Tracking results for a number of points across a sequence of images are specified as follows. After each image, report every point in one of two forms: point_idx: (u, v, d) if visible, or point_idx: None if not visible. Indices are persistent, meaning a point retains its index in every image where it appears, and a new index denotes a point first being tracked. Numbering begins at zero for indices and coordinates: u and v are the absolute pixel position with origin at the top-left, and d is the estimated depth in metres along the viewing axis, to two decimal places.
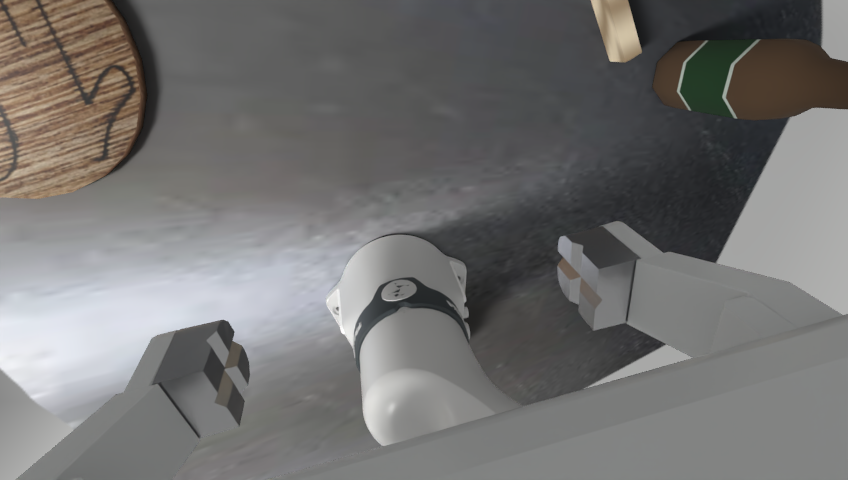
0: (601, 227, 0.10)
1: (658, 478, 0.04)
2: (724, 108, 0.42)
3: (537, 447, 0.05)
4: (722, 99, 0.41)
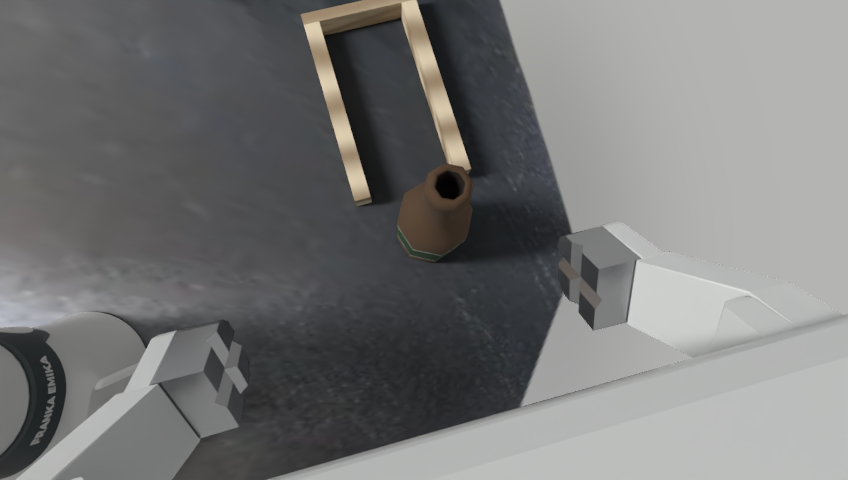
0: (600, 227, 0.10)
1: (658, 478, 0.04)
2: (405, 239, 0.43)
3: (536, 445, 0.05)
4: (398, 228, 0.43)
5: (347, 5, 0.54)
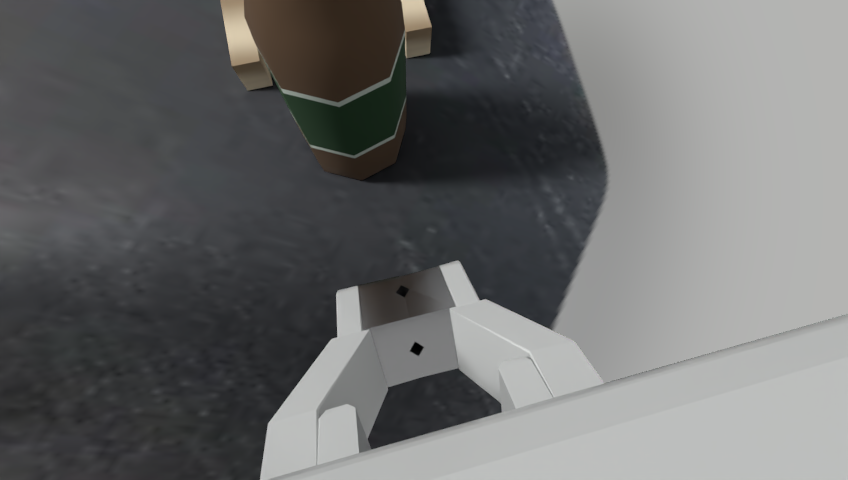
0: (436, 268, 0.09)
1: (658, 478, 0.04)
2: (274, 79, 0.22)
3: (536, 446, 0.05)
4: (261, 55, 0.22)
5: None
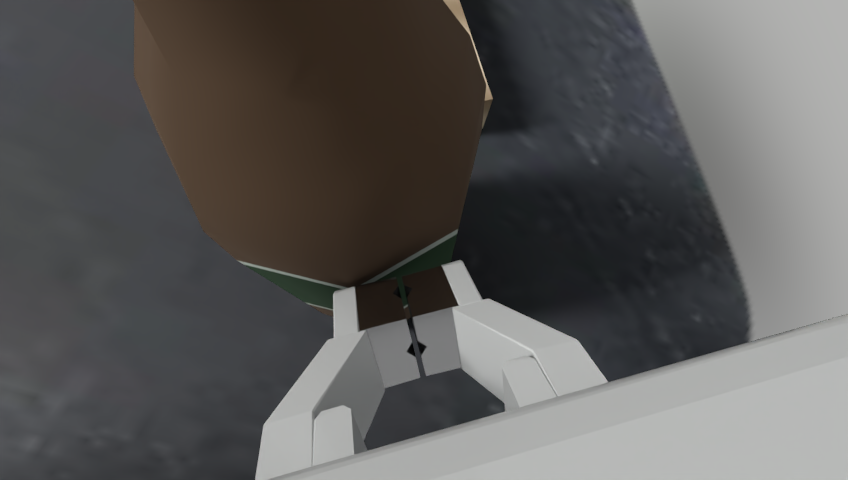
0: (439, 267, 0.09)
1: (658, 478, 0.04)
2: None
3: (536, 446, 0.05)
4: None
5: None
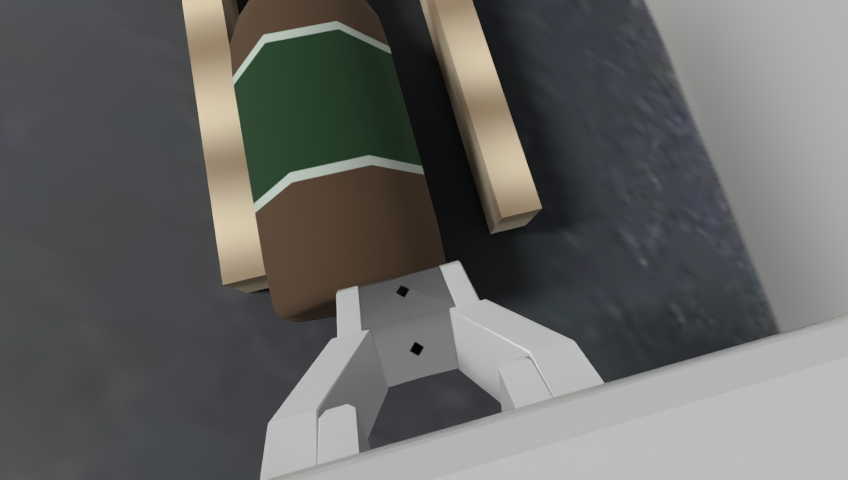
0: (437, 268, 0.09)
1: (658, 478, 0.04)
2: None
3: (536, 447, 0.05)
4: None
5: None
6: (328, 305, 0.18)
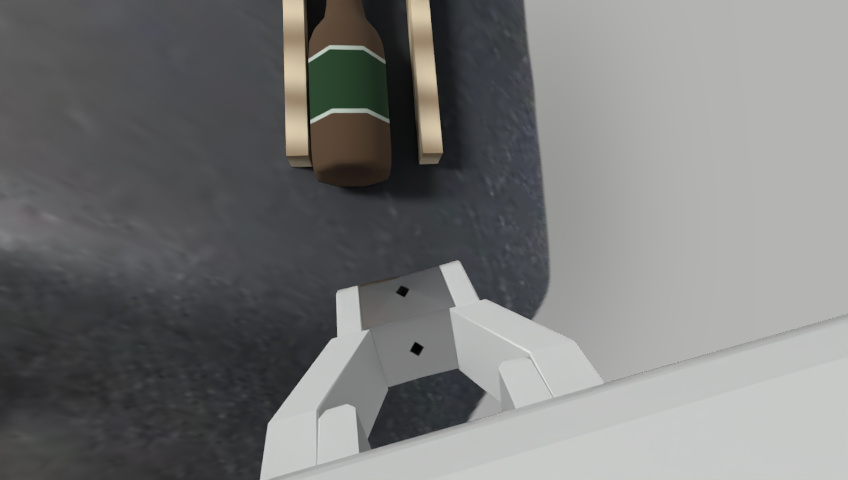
0: (437, 268, 0.09)
1: (658, 478, 0.04)
2: None
3: (537, 447, 0.05)
4: None
5: None
6: (334, 175, 0.39)
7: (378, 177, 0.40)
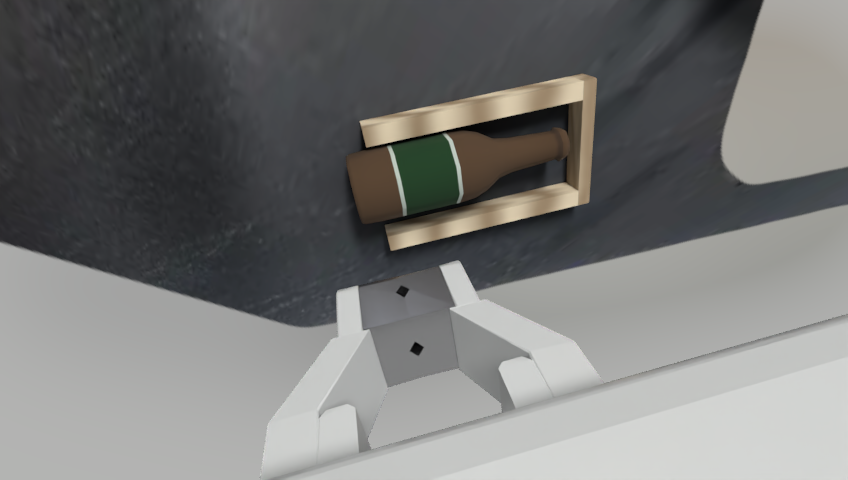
0: (437, 268, 0.09)
1: (658, 478, 0.04)
2: (440, 138, 0.43)
3: (536, 446, 0.05)
4: (441, 134, 0.44)
5: (592, 134, 0.47)
6: None
7: None
